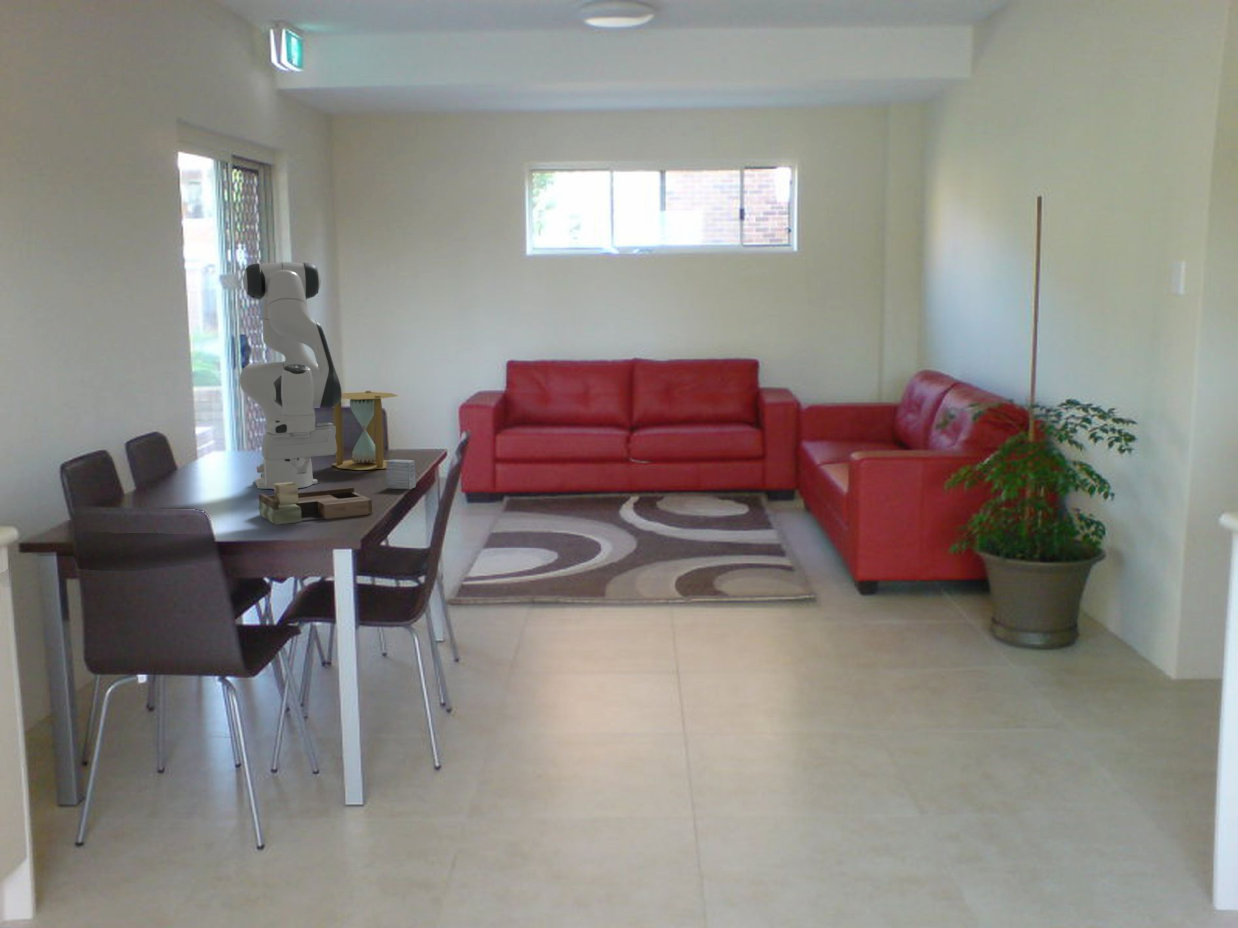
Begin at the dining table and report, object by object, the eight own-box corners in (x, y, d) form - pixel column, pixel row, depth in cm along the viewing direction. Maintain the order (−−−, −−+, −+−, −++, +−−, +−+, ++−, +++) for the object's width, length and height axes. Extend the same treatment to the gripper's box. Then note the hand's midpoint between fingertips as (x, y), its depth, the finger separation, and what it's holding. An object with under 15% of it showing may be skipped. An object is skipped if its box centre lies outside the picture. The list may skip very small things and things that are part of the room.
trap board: (259, 514, 329) (258, 493, 328) (353, 504, 344) (352, 484, 343) (275, 524, 317) (274, 502, 316) (372, 513, 331) (371, 492, 330)
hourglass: (319, 465, 413) (317, 393, 409) (374, 458, 429) (372, 389, 424) (356, 473, 396) (354, 399, 392) (412, 465, 412) (410, 394, 408)
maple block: (274, 501, 328) (273, 483, 327) (292, 499, 330) (291, 481, 330) (280, 504, 324) (279, 486, 323) (298, 502, 326) (297, 484, 325)
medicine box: (416, 487, 371) (415, 460, 370) (409, 490, 367) (409, 462, 366) (393, 486, 373) (392, 459, 372) (386, 488, 369) (385, 461, 368)
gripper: (331, 420, 335) (333, 468, 337) (259, 425, 324) (261, 474, 327) (339, 423, 330) (340, 471, 332) (265, 428, 319) (267, 478, 321)
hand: (300, 473), depth 329 cm, fingers closed
